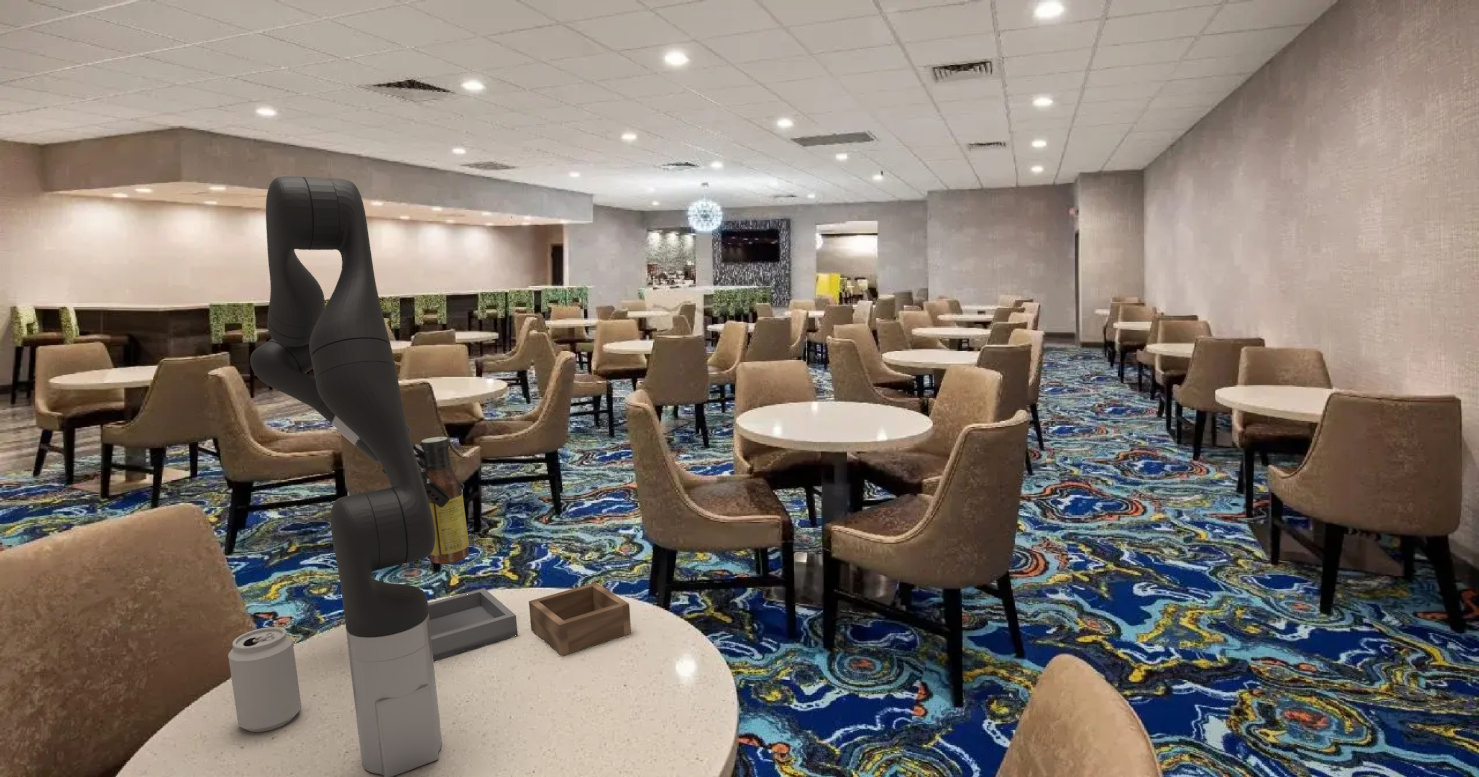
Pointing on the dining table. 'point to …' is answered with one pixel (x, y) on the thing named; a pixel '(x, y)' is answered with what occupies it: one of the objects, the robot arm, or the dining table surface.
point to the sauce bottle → (452, 515)
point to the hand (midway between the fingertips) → (453, 496)
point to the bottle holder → (579, 618)
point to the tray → (468, 623)
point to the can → (264, 679)
